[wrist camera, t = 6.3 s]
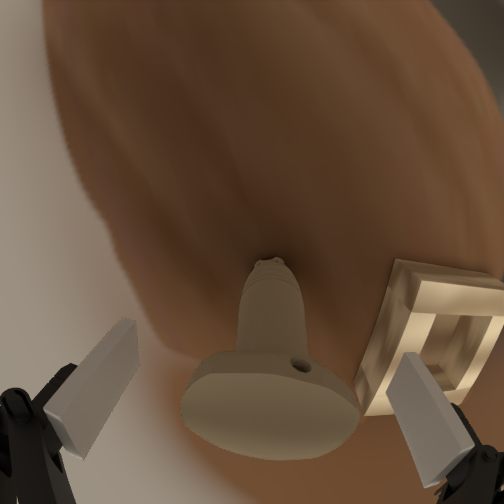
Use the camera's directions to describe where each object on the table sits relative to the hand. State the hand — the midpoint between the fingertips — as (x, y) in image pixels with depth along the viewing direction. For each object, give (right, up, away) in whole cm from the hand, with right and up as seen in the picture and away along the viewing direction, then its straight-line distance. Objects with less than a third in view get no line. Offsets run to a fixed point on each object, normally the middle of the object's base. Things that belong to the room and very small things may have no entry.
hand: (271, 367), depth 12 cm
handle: (+1, +4, +11) cm, 11 cm away
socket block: (+17, -2, +11) cm, 20 cm away
